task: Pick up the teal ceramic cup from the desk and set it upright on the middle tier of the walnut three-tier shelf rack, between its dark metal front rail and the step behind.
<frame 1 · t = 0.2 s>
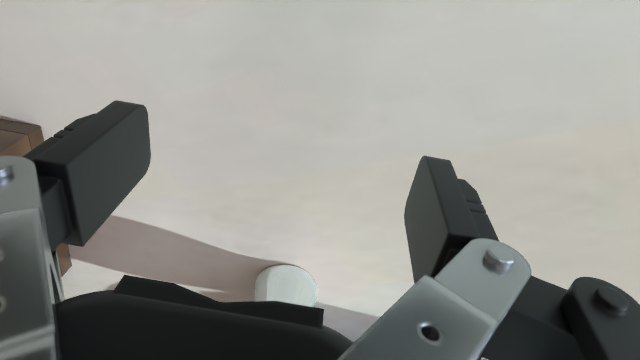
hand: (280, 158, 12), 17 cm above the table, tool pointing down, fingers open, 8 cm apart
beer glass: (287, 286, 39), on the table
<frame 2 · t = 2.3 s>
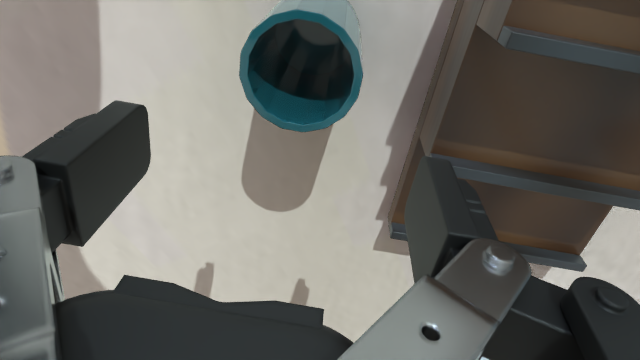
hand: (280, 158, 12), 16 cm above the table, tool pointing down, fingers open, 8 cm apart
cup: (315, 34, 26), on the table
shelf rack: (545, 93, 27), on the table
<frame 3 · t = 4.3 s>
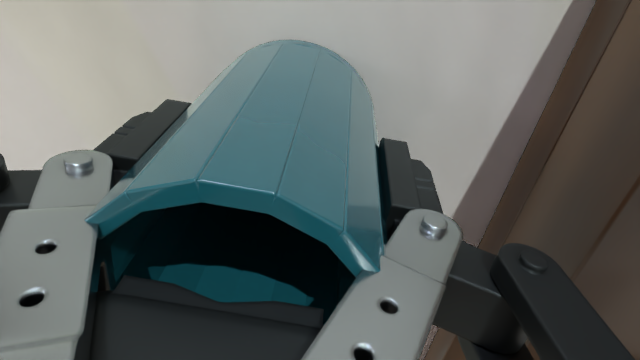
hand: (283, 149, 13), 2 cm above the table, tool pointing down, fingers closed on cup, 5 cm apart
cup: (293, 122, 14), on the table, touching gripper
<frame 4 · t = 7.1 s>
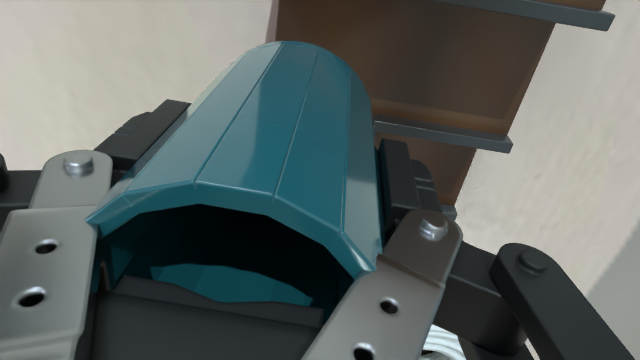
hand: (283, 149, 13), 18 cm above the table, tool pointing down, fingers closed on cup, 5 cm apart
cup: (292, 122, 14), point 16 cm above the table, touching gripper
shelf rack: (395, 42, 28), on the table
cable: (409, 324, 43), on the table
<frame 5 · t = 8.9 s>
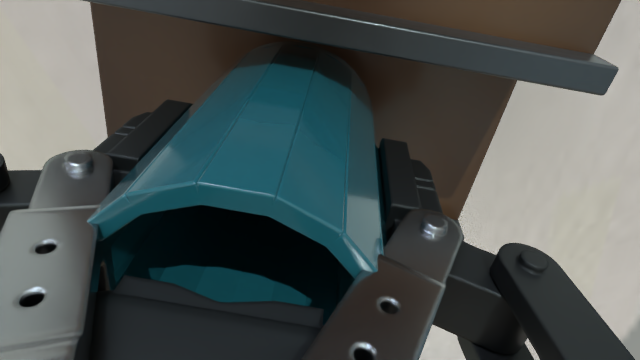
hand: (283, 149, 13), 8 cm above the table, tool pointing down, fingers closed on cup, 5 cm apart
cup: (293, 123, 14), point 6 cm above the table, touching gripper
shelf rack: (308, 77, 20), on the table
when the fingers open (7 cm above the table, at t = 9.8 s): cup stays where it is, resting on shelf rack.
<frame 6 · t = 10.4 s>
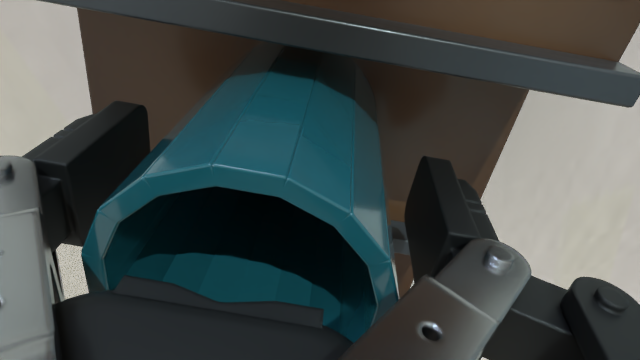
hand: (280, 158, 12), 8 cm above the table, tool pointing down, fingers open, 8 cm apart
cup: (298, 117, 15), point 5 cm above the table, touching shelf rack
shelf rack: (308, 82, 19), on the table
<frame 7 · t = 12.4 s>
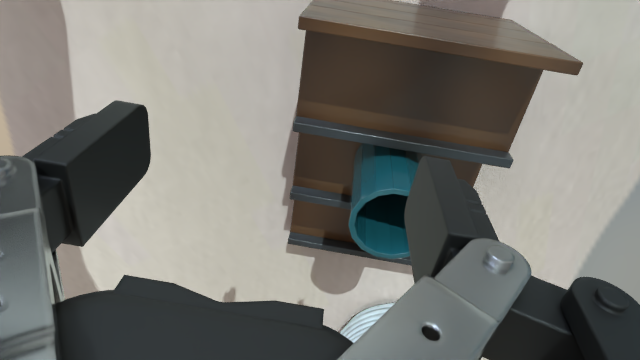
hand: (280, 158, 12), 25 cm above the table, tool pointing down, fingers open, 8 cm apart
cup: (387, 163, 34), point 5 cm above the table, touching shelf rack
shelf rack: (383, 141, 38), on the table
cable: (401, 345, 53), on the table
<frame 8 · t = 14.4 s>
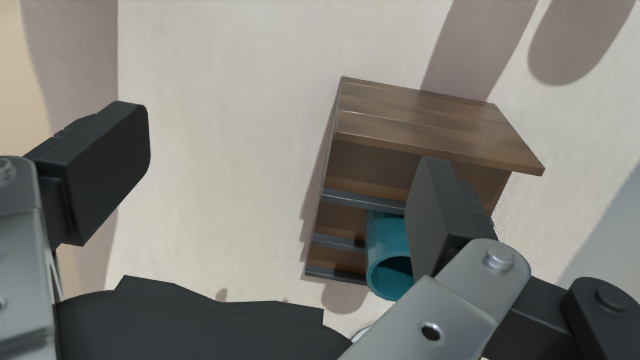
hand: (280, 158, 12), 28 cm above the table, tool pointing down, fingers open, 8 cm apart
cup: (392, 216, 41), point 5 cm above the table, touching shelf rack
shelf rack: (388, 192, 46), on the table
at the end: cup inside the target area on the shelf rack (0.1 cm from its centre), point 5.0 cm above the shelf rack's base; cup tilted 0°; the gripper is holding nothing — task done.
